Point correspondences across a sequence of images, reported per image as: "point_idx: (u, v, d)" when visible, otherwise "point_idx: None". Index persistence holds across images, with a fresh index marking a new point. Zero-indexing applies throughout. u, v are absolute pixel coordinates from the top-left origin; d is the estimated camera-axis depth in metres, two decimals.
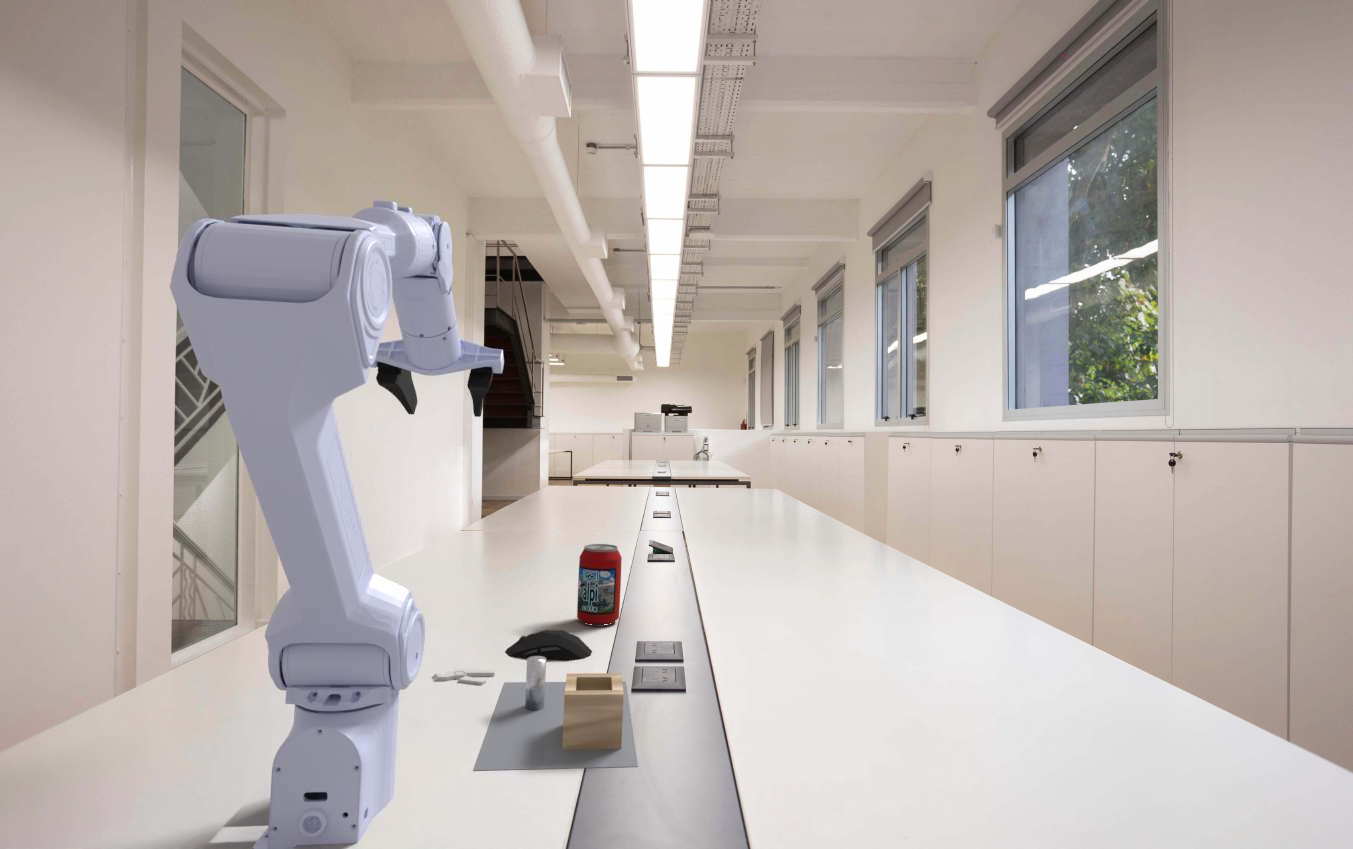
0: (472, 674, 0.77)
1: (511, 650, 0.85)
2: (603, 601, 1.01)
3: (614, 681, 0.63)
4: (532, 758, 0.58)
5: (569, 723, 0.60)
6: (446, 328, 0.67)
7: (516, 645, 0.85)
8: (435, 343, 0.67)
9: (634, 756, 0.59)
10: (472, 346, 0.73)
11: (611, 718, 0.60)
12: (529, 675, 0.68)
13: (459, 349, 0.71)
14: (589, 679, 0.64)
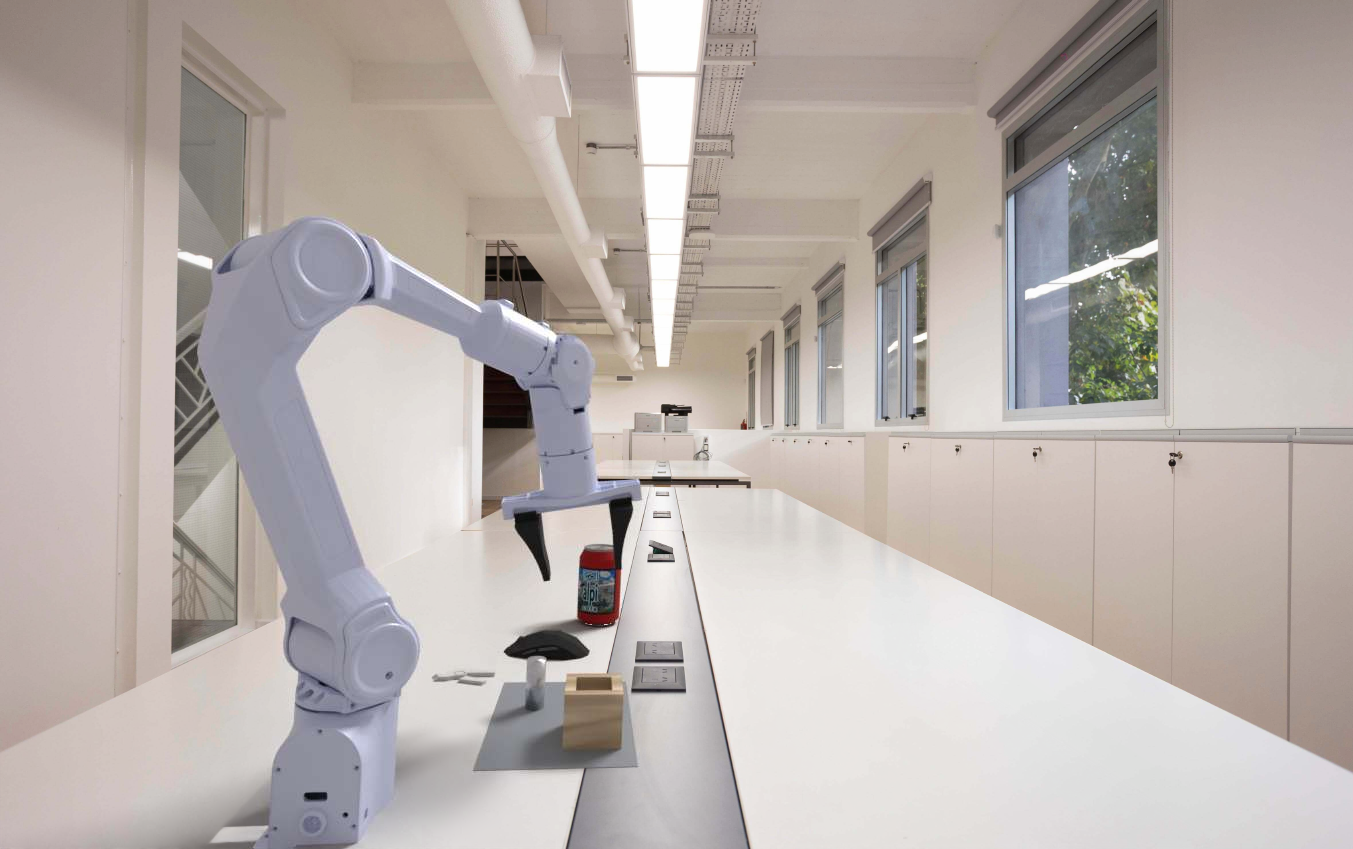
0: (472, 674, 0.77)
1: (509, 650, 0.85)
2: (603, 600, 1.01)
3: (614, 681, 0.63)
4: (532, 758, 0.58)
5: (569, 723, 0.60)
6: (568, 450, 0.65)
7: (514, 645, 0.85)
8: (577, 461, 0.66)
9: (634, 756, 0.59)
10: (607, 484, 0.71)
11: (611, 718, 0.60)
12: (529, 675, 0.68)
13: (597, 480, 0.69)
14: (589, 679, 0.64)
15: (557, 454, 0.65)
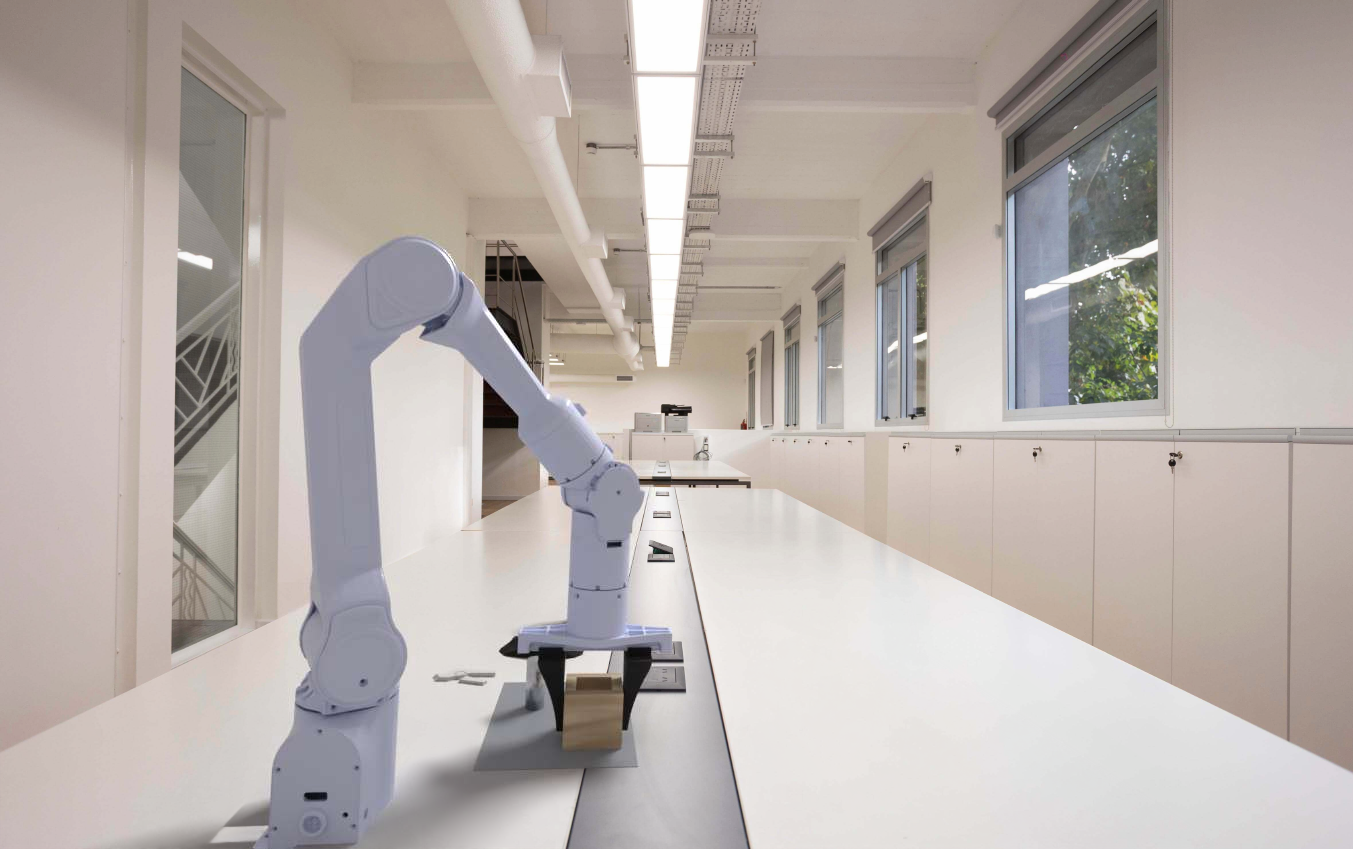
0: (473, 674, 0.77)
1: (504, 650, 0.85)
2: None
3: (614, 681, 0.63)
4: (532, 758, 0.58)
5: (569, 723, 0.60)
6: (594, 585, 0.60)
7: (509, 645, 0.86)
8: (610, 600, 0.60)
9: (634, 756, 0.59)
10: (634, 628, 0.65)
11: (611, 718, 0.60)
12: (529, 675, 0.68)
13: None
14: (589, 679, 0.64)
15: (590, 588, 0.60)
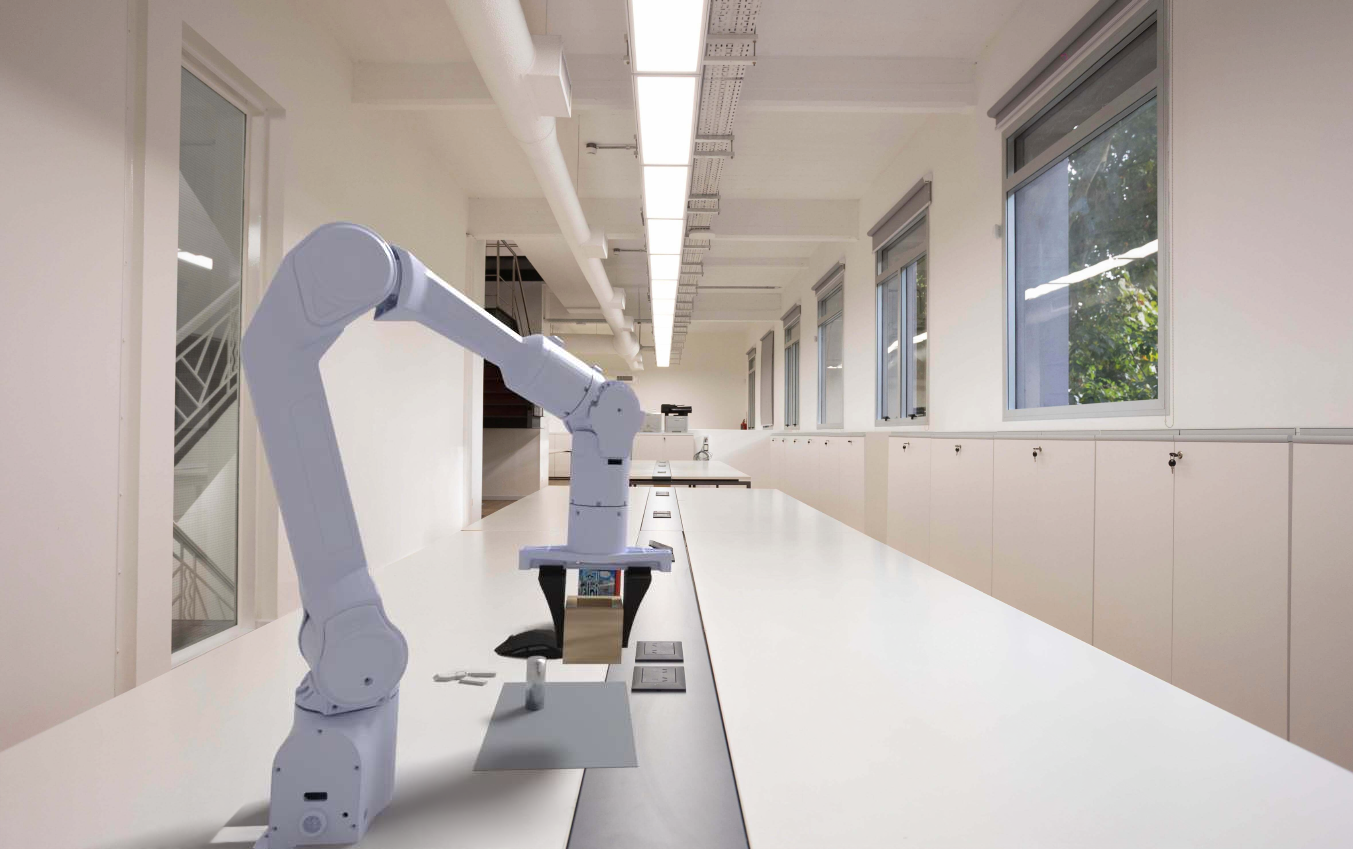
0: (473, 674, 0.77)
1: (499, 649, 0.85)
2: None
3: (615, 601, 0.64)
4: (532, 758, 0.58)
5: (569, 638, 0.60)
6: (594, 501, 0.60)
7: (504, 644, 0.86)
8: (610, 516, 0.61)
9: (634, 756, 0.59)
10: (634, 550, 0.65)
11: (611, 633, 0.61)
12: (529, 675, 0.68)
13: None
14: (589, 600, 0.65)
15: (590, 504, 0.61)
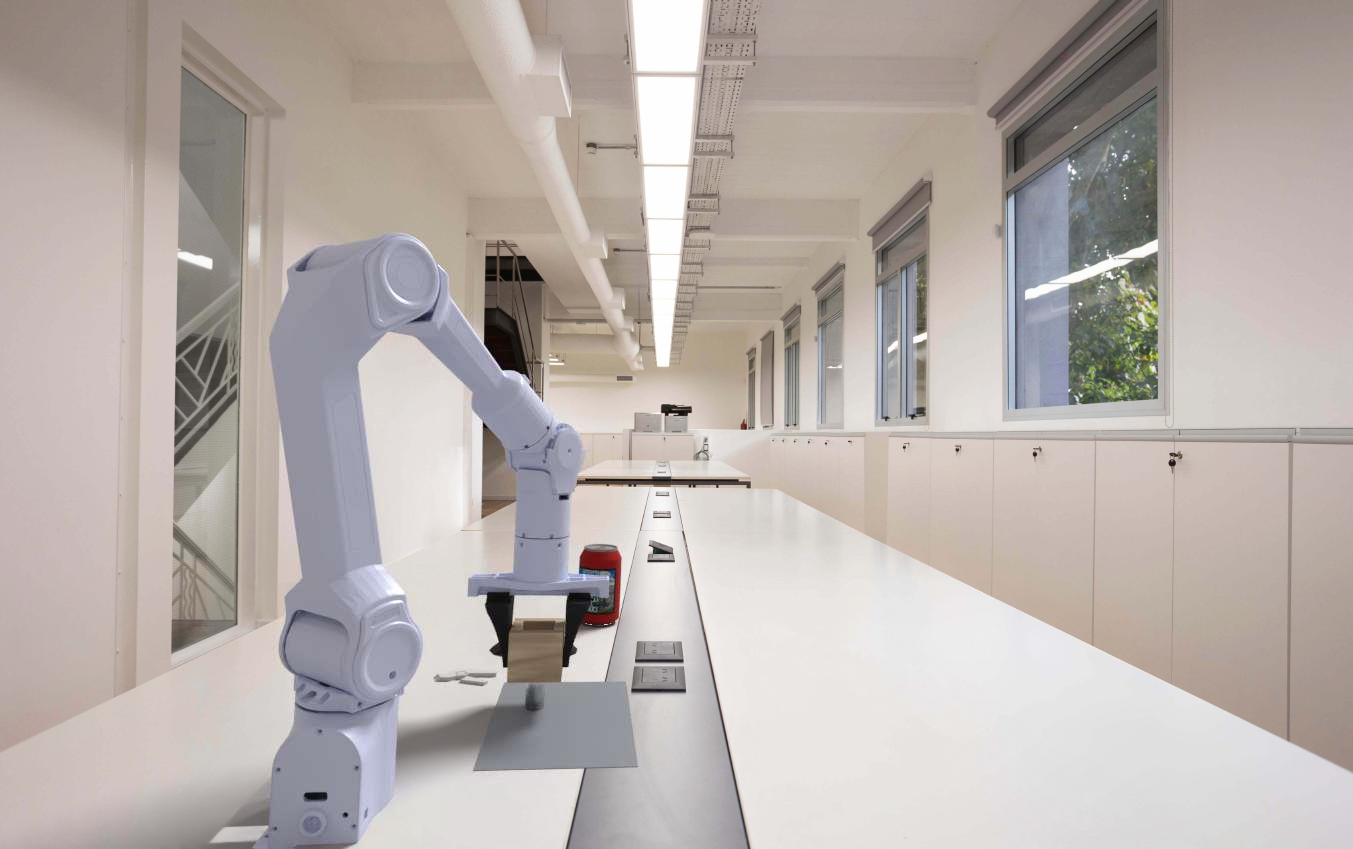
0: (474, 674, 0.77)
1: (496, 648, 0.85)
2: (603, 600, 1.01)
3: (557, 624, 0.69)
4: (532, 758, 0.58)
5: (513, 659, 0.66)
6: (548, 534, 0.66)
7: None
8: (551, 547, 0.67)
9: (634, 756, 0.59)
10: (577, 576, 0.71)
11: (552, 654, 0.66)
12: None
13: (567, 570, 0.69)
14: (535, 623, 0.71)
15: (532, 537, 0.66)
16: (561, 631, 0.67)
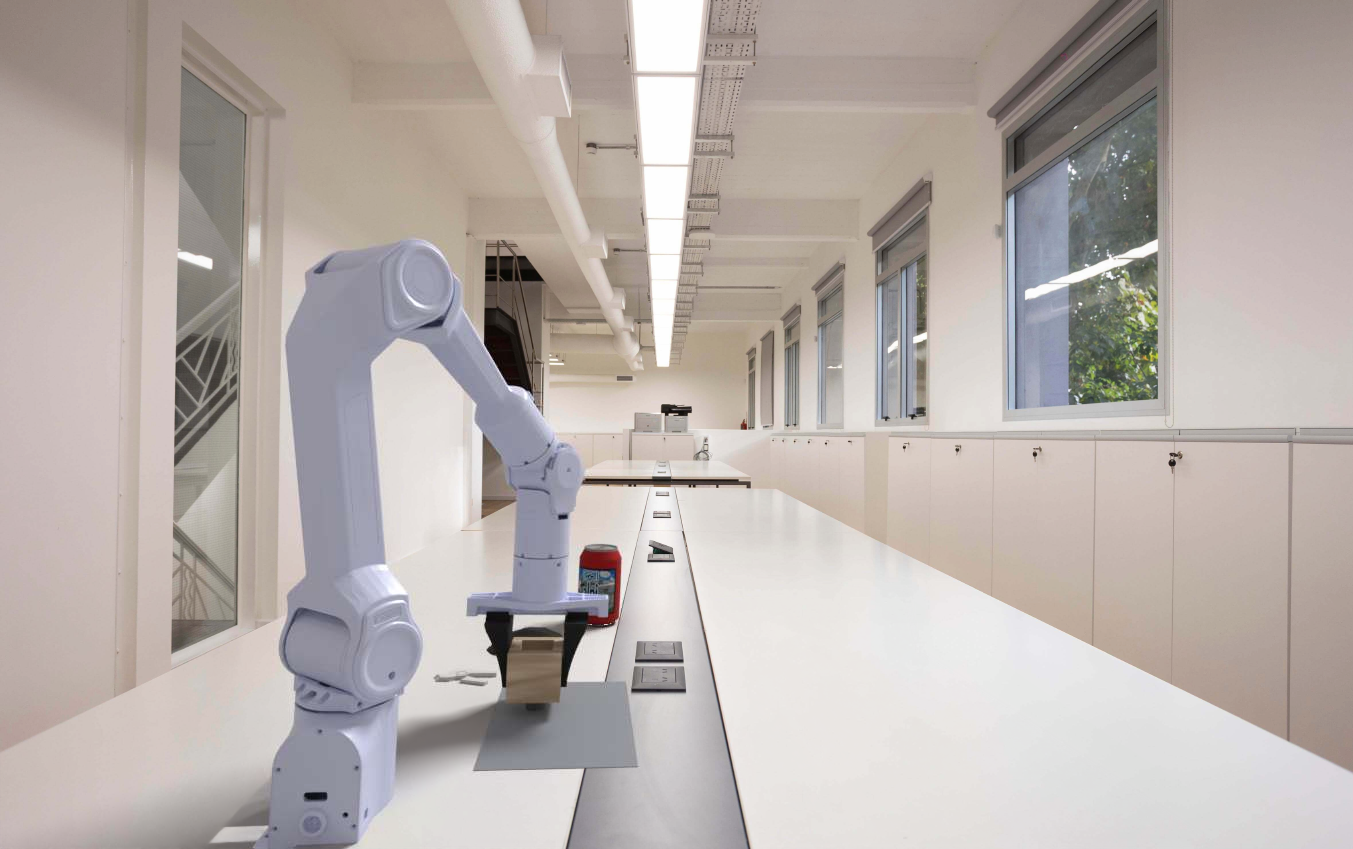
0: (474, 674, 0.77)
1: None
2: None
3: (556, 643, 0.69)
4: (532, 758, 0.58)
5: (511, 679, 0.66)
6: (547, 554, 0.66)
7: None
8: (550, 567, 0.67)
9: (634, 756, 0.59)
10: (576, 595, 0.71)
11: (550, 675, 0.66)
12: None
13: (566, 589, 0.69)
14: (533, 642, 0.70)
15: (531, 557, 0.66)
16: (560, 651, 0.67)
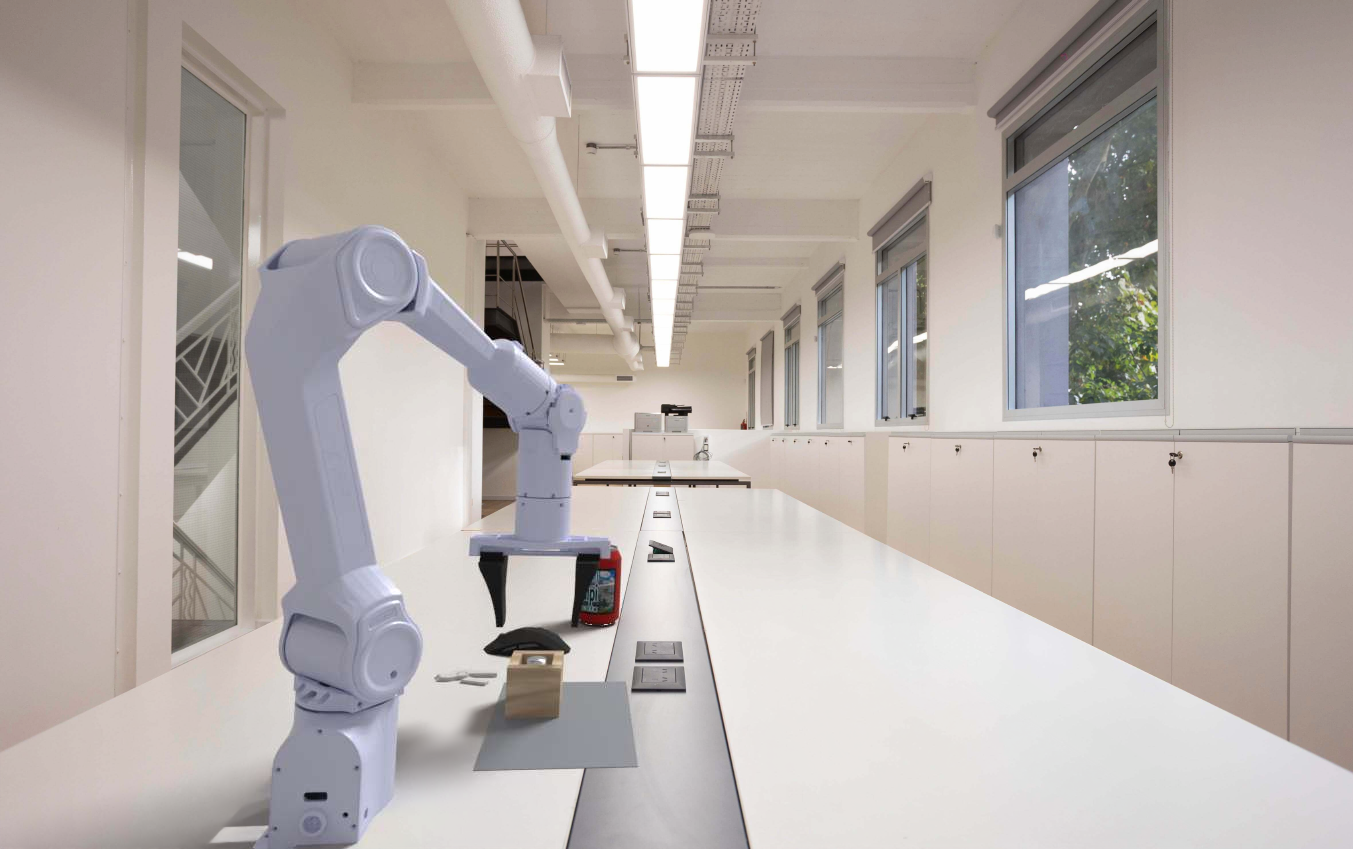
0: (475, 675, 0.76)
1: (489, 647, 0.86)
2: (603, 600, 1.01)
3: (556, 657, 0.69)
4: (532, 758, 0.58)
5: (511, 694, 0.66)
6: (549, 493, 0.67)
7: (494, 642, 0.86)
8: (552, 507, 0.67)
9: (634, 756, 0.59)
10: None
11: (549, 689, 0.66)
12: None
13: None
14: (533, 655, 0.70)
15: (534, 496, 0.66)
16: (559, 666, 0.67)
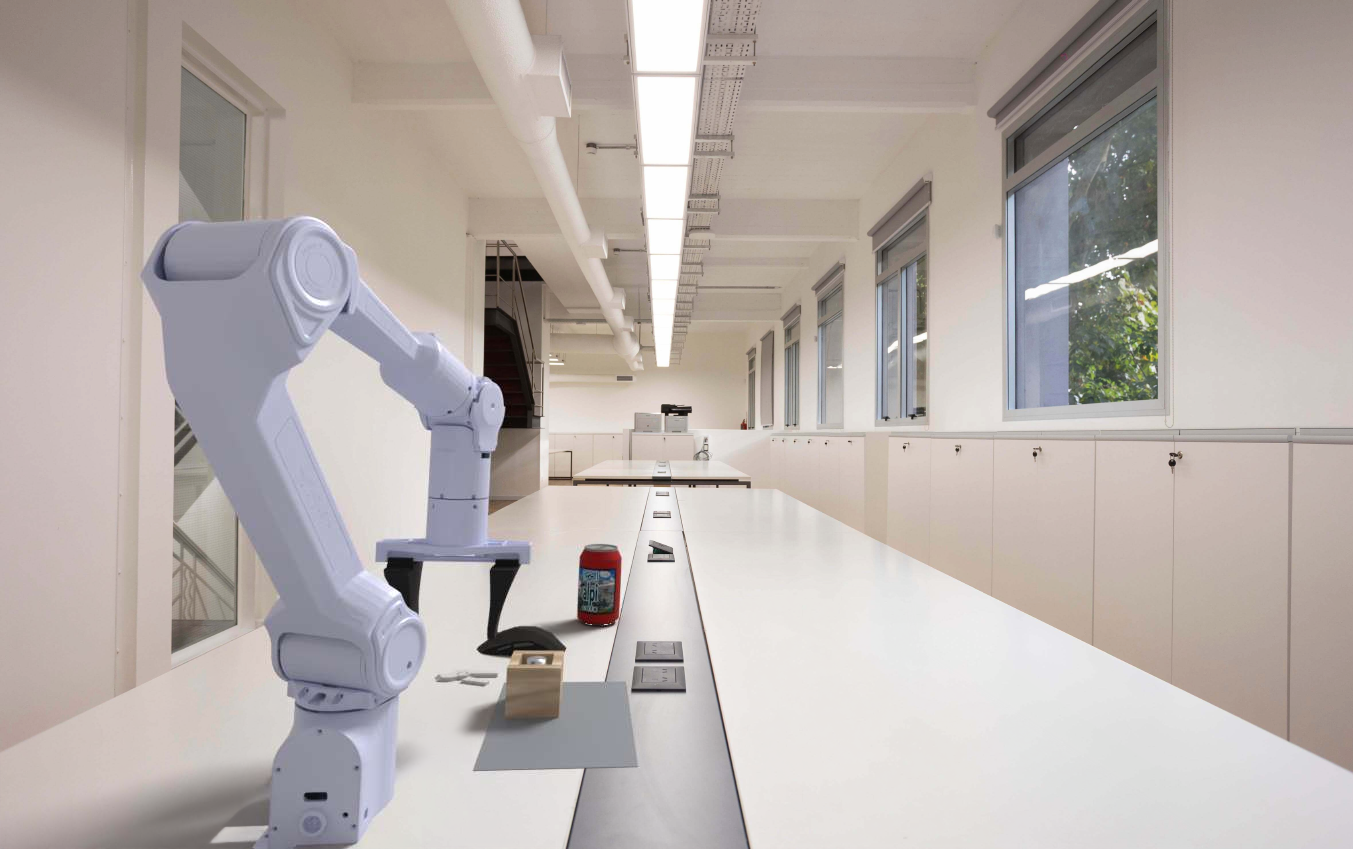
0: (475, 675, 0.76)
1: (484, 646, 0.86)
2: (603, 600, 1.01)
3: (556, 657, 0.69)
4: (532, 758, 0.58)
5: (511, 694, 0.66)
6: (470, 494, 0.62)
7: (489, 641, 0.86)
8: (464, 509, 0.62)
9: (634, 756, 0.59)
10: (498, 542, 0.66)
11: (549, 689, 0.66)
12: None
13: (485, 534, 0.64)
14: (533, 655, 0.70)
15: (444, 497, 0.61)
16: (559, 666, 0.67)
